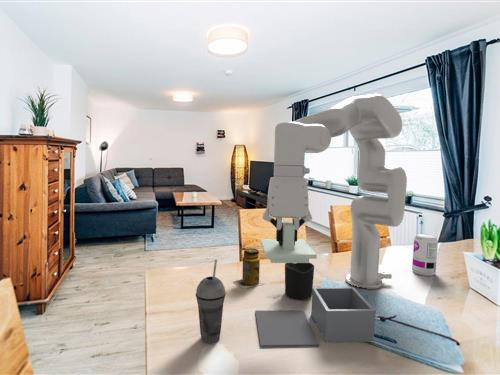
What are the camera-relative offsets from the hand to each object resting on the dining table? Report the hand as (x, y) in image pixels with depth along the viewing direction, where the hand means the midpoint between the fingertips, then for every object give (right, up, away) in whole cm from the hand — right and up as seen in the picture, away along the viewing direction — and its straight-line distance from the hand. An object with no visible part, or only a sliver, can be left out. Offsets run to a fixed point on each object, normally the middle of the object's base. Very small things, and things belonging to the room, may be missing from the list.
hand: (286, 243), depth 82 cm
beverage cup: (-19, -23, -4) cm, 30 cm away
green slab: (0, -3, 0) cm, 3 cm away
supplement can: (+60, -20, +45) cm, 77 cm away
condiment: (-10, -20, +32) cm, 39 cm away
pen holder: (+6, -21, +23) cm, 32 cm away
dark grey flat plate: (0, -23, +2) cm, 23 cm away
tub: (+15, -23, +3) cm, 27 cm away
